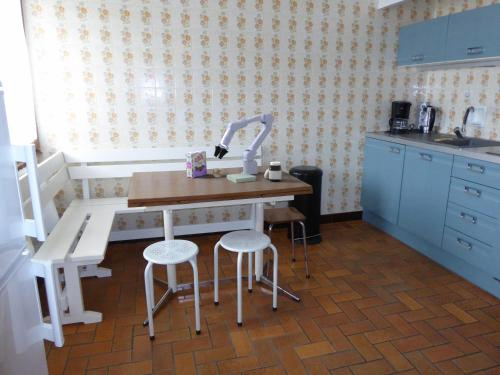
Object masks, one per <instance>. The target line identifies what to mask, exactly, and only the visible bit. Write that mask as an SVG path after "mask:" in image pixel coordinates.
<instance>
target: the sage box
mask: <svg viewBox="0 0 500 375" xmlns="http://www.w3.org/2000/svg"><path fill="white" fill-rule="evenodd" d="M226 180H229V181H230V182H233V183H236V184H239V183H247V182H256V181H257V176H255V175H254V174H247V173H241V172H240V173H233V174H226Z"/></svg>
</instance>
